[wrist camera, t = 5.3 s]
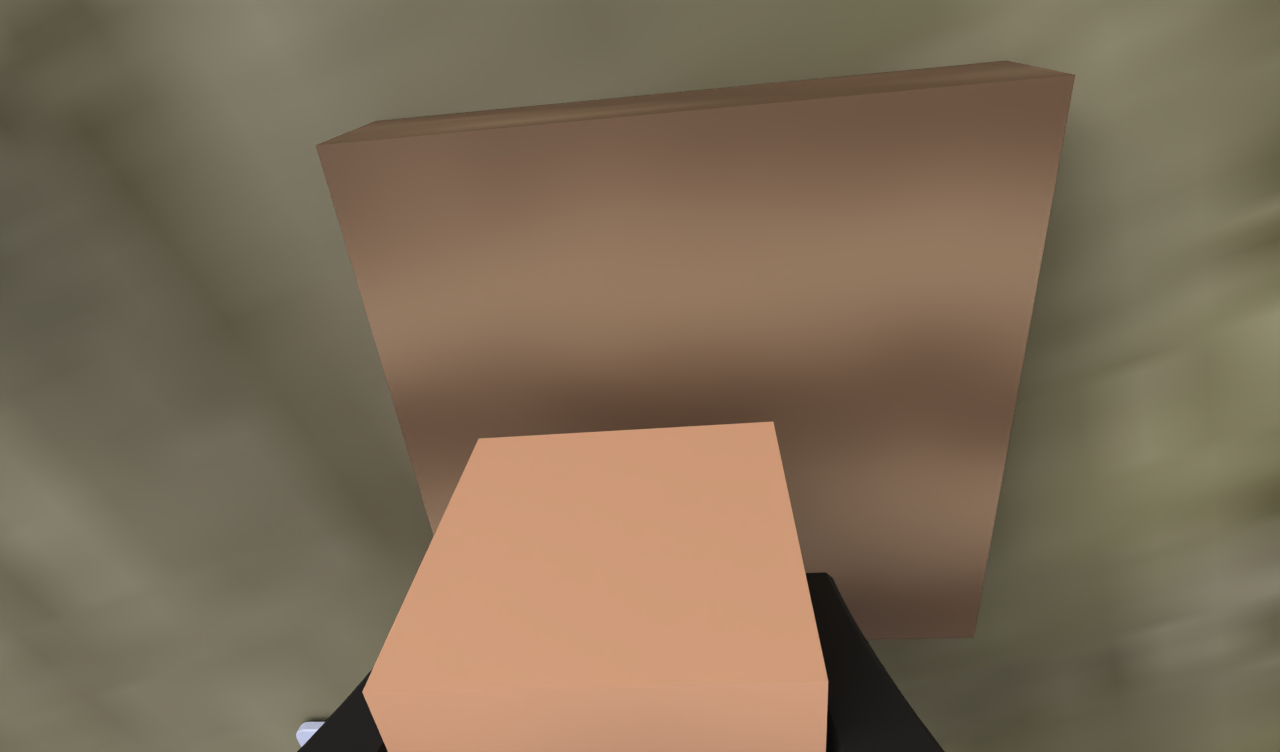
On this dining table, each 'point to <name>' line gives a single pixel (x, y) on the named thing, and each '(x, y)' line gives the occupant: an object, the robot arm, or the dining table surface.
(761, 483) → the terracotta cube
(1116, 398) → the dining table surface
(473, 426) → the walnut base
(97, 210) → the dining table surface
